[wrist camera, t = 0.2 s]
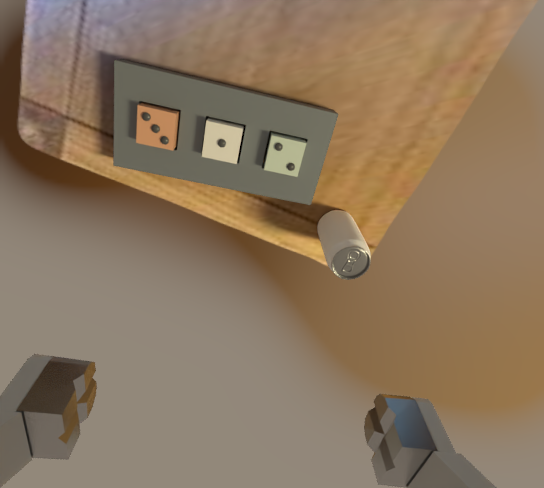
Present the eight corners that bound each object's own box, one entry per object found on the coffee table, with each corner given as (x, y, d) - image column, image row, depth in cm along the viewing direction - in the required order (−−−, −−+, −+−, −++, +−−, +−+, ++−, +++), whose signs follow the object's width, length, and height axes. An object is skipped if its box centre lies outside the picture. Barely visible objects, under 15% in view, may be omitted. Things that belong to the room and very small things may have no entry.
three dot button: (144, 101, 49) (137, 105, 46) (180, 110, 49) (175, 114, 47) (142, 137, 51) (135, 143, 48) (177, 145, 52) (172, 151, 49)
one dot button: (209, 116, 50) (206, 120, 47) (243, 124, 51) (243, 129, 48) (204, 151, 52) (201, 157, 49) (237, 158, 53) (236, 164, 50)
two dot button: (271, 130, 51) (271, 135, 48) (304, 138, 52) (306, 143, 49) (263, 163, 53) (264, 170, 51) (295, 170, 54) (297, 177, 51)
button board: (122, 59, 47) (114, 60, 45) (334, 110, 51) (338, 114, 49) (120, 159, 54) (113, 165, 51) (308, 198, 58) (310, 205, 55)
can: (360, 214, 60) (381, 250, 49) (345, 245, 63) (362, 286, 52) (324, 204, 59) (338, 239, 48) (311, 237, 62) (321, 276, 51)
